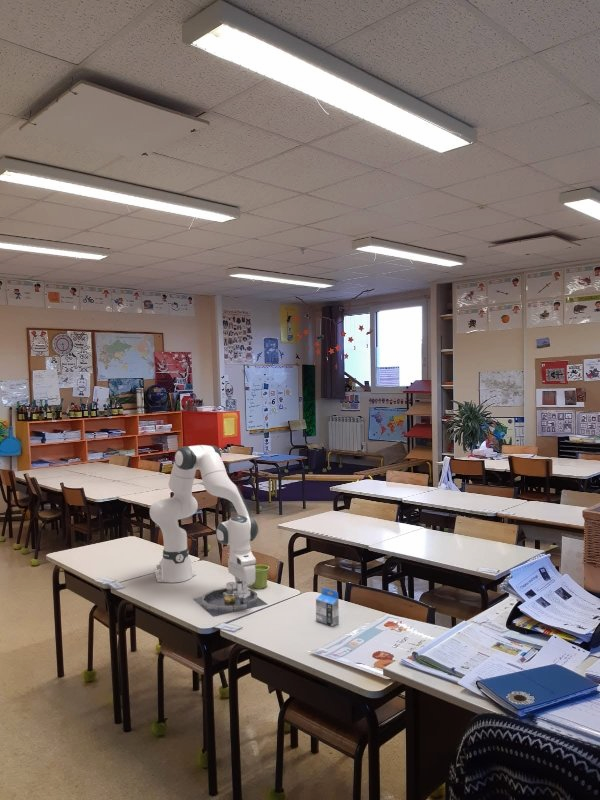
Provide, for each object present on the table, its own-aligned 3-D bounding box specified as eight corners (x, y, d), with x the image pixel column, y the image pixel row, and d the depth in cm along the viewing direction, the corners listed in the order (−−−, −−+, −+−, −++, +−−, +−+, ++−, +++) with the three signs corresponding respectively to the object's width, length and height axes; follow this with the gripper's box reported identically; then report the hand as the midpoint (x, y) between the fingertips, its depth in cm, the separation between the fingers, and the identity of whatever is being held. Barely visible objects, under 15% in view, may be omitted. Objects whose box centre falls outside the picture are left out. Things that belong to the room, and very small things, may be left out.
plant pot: (248, 590, 267) (247, 571, 267) (250, 583, 276) (249, 565, 276) (269, 590, 267) (268, 570, 267) (270, 583, 276) (269, 564, 276)
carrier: (192, 601, 255) (192, 586, 255) (244, 590, 267) (243, 575, 267) (213, 619, 234) (212, 602, 234) (268, 607, 246) (267, 590, 246)
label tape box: (315, 621, 230) (314, 589, 230) (322, 617, 233) (321, 586, 233) (332, 627, 224) (331, 594, 223) (339, 623, 227) (338, 591, 226)
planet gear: (230, 594, 249) (230, 581, 248) (246, 591, 252) (245, 578, 252) (237, 599, 242) (237, 586, 242) (253, 596, 246) (252, 582, 246)
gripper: (223, 551, 254) (225, 583, 255) (243, 562, 237) (244, 597, 237) (237, 549, 257) (238, 580, 258) (257, 560, 240) (259, 594, 240)
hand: (241, 589), depth 247 cm, fingers closed on planet gear, 4 cm apart
